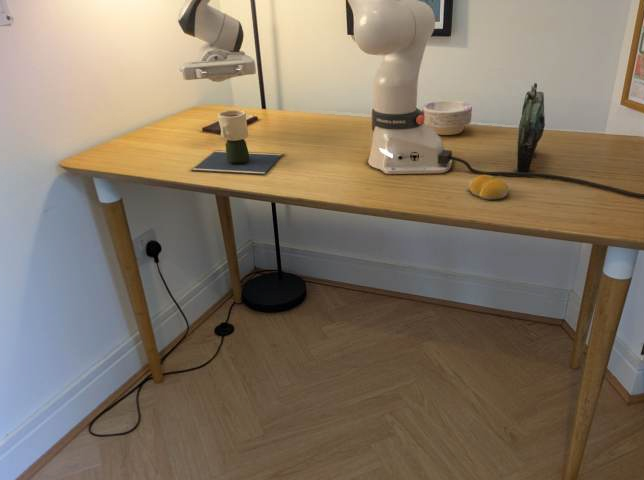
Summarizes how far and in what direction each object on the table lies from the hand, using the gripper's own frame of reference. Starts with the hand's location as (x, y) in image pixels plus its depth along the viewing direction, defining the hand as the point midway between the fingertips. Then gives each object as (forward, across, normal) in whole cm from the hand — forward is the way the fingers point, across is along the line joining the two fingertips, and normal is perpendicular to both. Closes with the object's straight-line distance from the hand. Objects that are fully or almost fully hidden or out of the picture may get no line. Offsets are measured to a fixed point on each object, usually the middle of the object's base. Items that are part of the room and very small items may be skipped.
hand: (222, 73), depth 152 cm
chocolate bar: (-25, +3, +21) cm, 33 cm away
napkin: (+12, 0, +21) cm, 24 cm away
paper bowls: (+7, +65, +22) cm, 69 cm away
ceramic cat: (+41, +72, +22) cm, 86 cm away
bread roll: (+56, +52, +22) cm, 79 cm away
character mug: (+12, 0, +21) cm, 24 cm away
